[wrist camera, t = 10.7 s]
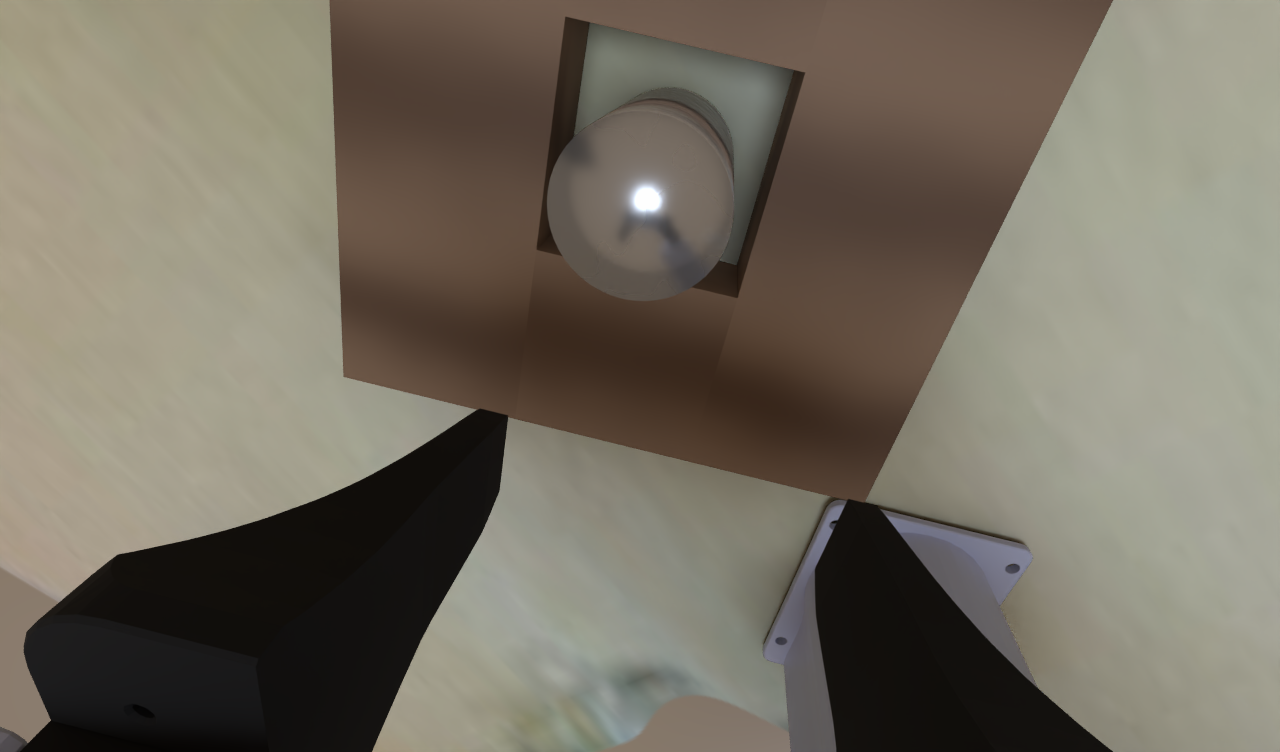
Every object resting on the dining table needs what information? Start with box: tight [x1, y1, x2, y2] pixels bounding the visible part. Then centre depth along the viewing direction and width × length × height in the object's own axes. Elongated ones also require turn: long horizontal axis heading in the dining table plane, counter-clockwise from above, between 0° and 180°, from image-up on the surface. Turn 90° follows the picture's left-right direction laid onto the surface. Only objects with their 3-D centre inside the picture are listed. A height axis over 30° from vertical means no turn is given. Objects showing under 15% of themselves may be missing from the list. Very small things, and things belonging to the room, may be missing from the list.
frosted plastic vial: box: [547, 87, 734, 301], centre depth 16 cm, size 4×4×7 cm
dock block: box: [330, 0, 1113, 503], centre depth 18 cm, size 18×18×3 cm
